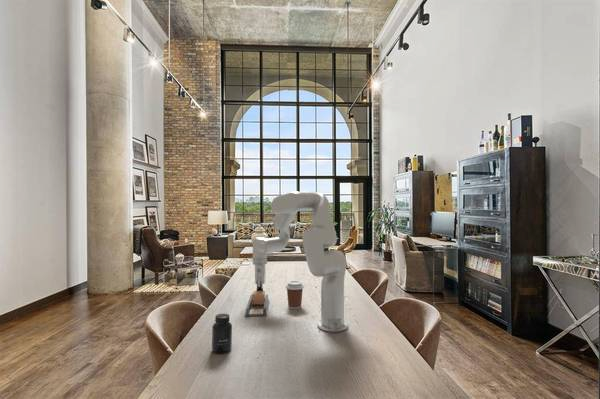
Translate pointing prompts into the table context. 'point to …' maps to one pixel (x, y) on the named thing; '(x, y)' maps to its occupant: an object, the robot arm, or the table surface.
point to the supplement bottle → (221, 334)
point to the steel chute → (257, 308)
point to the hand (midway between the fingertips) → (259, 296)
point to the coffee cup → (294, 294)
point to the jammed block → (258, 297)
